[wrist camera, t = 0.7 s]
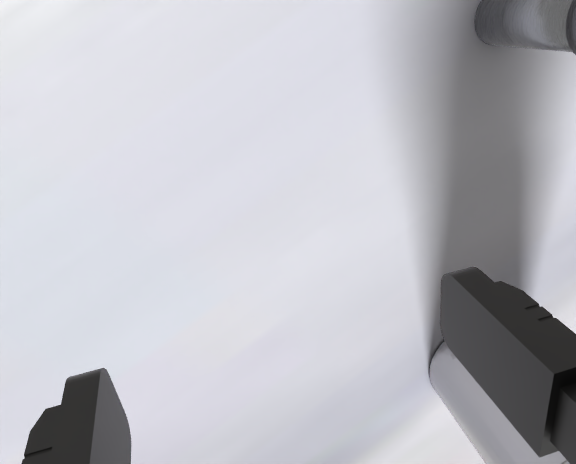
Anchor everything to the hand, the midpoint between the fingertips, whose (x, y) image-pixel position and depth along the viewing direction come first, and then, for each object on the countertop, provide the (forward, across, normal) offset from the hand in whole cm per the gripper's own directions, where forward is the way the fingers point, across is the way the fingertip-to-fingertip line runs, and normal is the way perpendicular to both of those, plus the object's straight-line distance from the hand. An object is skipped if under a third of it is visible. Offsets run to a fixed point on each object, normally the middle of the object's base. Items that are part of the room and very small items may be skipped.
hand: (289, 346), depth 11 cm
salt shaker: (+23, +21, +3) cm, 32 cm away
